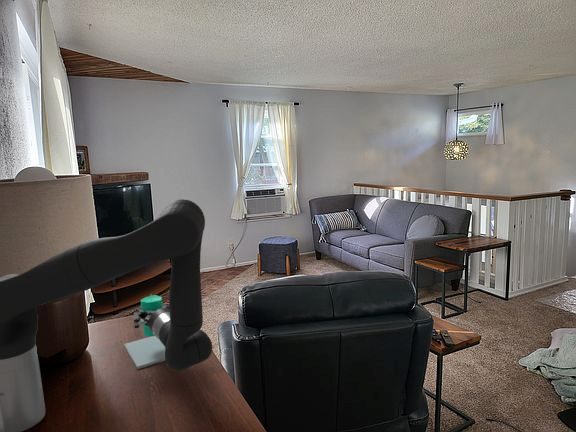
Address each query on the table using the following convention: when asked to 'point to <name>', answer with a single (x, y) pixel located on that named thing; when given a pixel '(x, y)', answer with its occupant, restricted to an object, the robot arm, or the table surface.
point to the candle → (150, 304)
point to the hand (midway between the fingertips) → (149, 307)
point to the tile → (146, 351)
